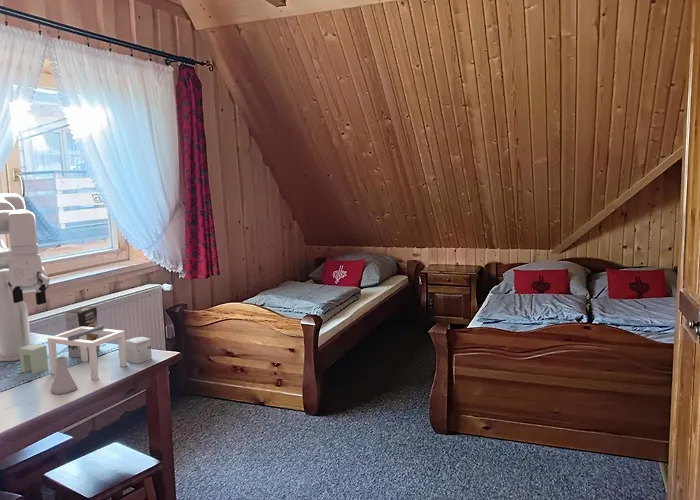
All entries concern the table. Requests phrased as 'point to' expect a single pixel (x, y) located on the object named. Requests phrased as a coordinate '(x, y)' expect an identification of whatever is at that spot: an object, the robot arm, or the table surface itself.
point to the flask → (62, 378)
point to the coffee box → (85, 319)
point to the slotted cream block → (33, 358)
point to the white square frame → (87, 345)
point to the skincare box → (138, 349)
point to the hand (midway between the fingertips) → (29, 302)
